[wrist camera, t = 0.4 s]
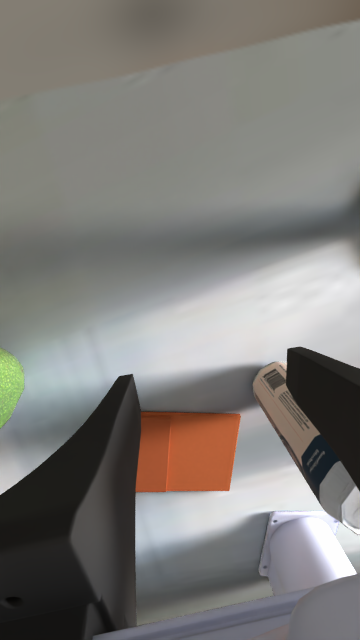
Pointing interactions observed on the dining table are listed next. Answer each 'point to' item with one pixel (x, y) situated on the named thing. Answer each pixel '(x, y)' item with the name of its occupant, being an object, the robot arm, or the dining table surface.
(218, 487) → the orange stepped block
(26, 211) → the dining table surface
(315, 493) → the beer can
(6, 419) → the avocado
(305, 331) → the dining table surface
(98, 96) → the dining table surface
